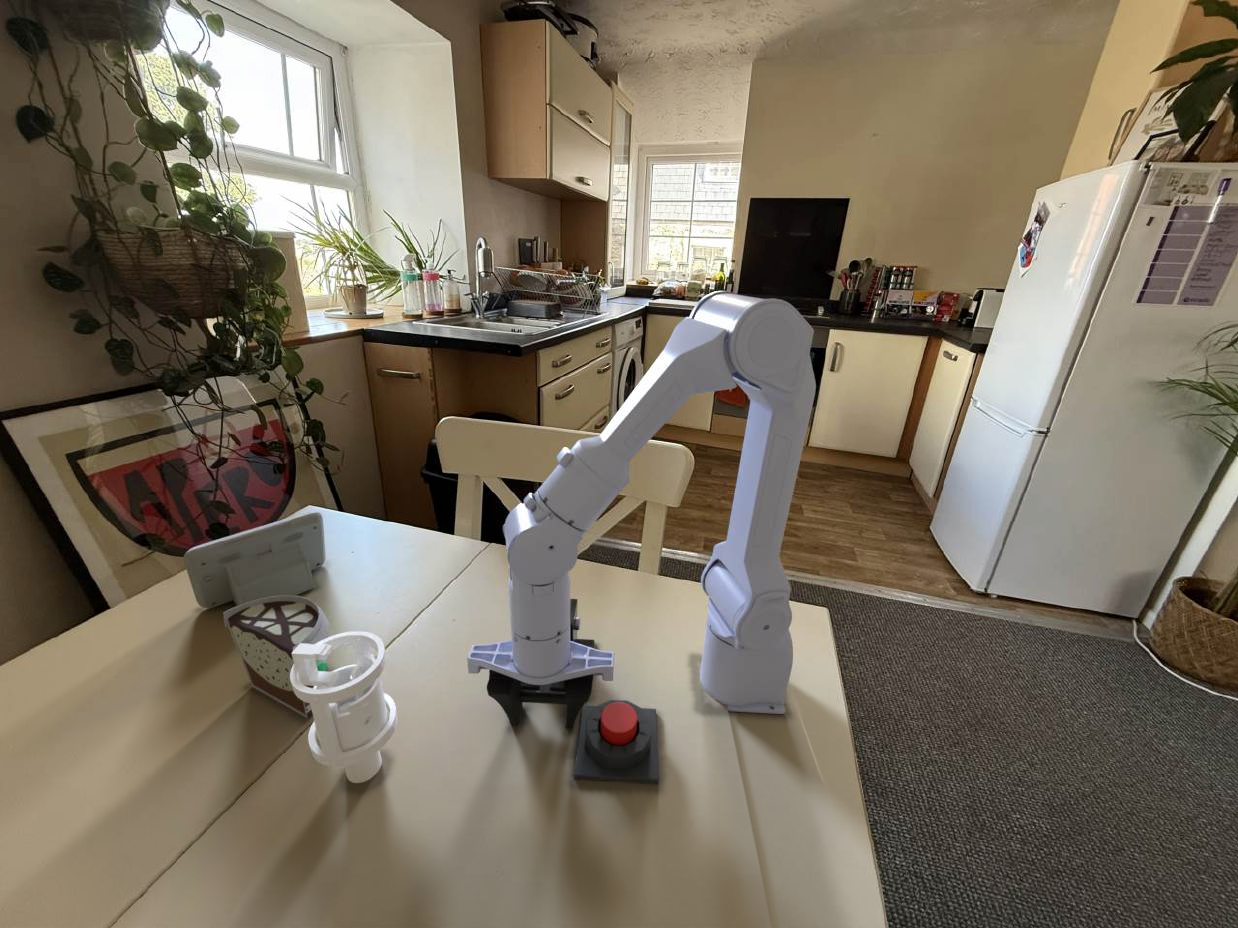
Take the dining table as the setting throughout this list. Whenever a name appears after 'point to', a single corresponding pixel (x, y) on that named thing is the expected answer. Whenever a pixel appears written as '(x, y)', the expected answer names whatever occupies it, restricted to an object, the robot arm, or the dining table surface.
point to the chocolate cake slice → (276, 642)
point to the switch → (543, 696)
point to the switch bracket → (574, 626)
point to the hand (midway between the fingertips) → (543, 721)
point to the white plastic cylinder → (346, 704)
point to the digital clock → (258, 562)
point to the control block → (617, 749)
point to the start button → (618, 723)
